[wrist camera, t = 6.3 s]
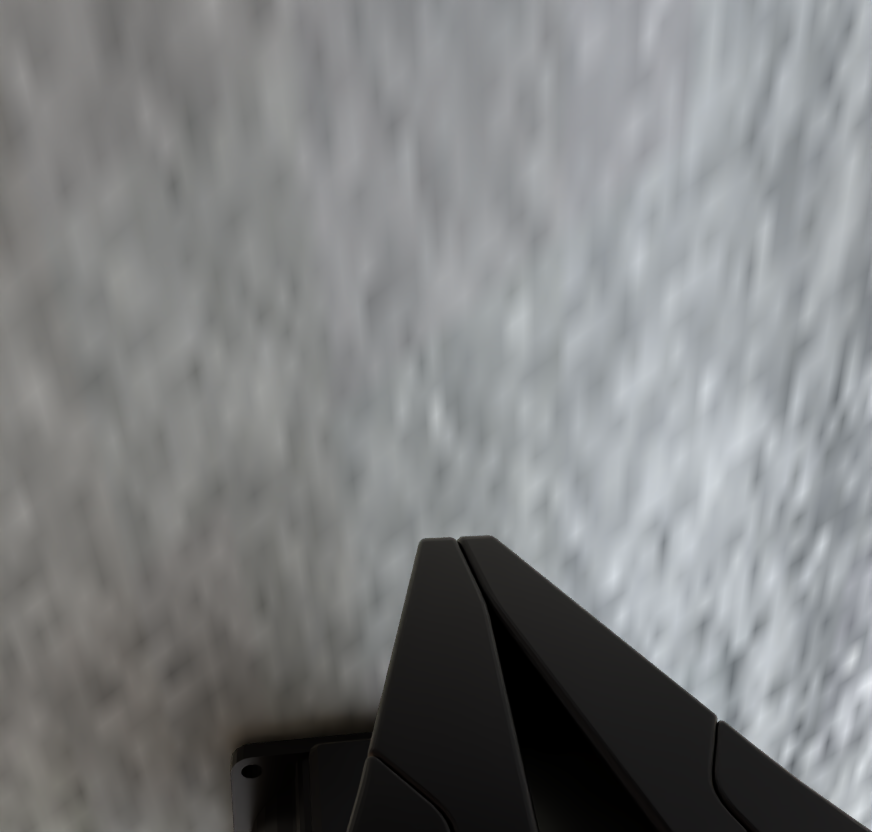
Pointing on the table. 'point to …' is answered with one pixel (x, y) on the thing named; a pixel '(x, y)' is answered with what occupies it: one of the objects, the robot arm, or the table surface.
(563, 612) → the robot arm
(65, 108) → the table surface
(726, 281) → the table surface
